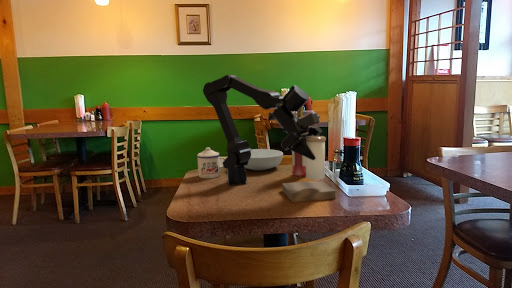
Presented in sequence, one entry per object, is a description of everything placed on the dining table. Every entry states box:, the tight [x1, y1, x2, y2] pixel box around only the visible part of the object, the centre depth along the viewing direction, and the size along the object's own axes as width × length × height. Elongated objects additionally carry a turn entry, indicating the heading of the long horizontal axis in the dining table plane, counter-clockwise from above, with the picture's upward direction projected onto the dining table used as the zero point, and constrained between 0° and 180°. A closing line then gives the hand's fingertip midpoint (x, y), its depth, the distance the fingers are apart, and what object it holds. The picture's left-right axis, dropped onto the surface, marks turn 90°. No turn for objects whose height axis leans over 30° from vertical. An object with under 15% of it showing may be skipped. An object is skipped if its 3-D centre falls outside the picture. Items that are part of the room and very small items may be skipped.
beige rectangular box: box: [281, 180, 336, 203], centre depth 121 cm, size 14×13×2 cm
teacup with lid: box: [196, 147, 226, 179], centre depth 150 cm, size 12×9×12 cm
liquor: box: [290, 105, 308, 178], centre depth 144 cm, size 7×7×28 cm
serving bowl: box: [244, 148, 284, 171], centre depth 161 cm, size 21×21×7 cm
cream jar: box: [305, 135, 327, 181], centre depth 118 cm, size 6×6×13 cm
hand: (319, 157), depth 117 cm, fingers closed on cream jar, 6 cm apart
